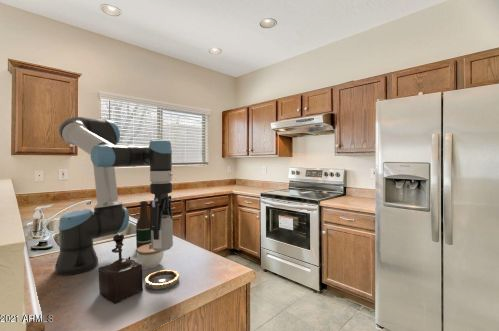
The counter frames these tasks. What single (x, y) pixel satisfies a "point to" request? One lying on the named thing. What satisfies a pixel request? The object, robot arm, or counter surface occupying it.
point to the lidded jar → (149, 256)
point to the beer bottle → (143, 226)
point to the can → (165, 233)
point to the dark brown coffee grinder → (120, 276)
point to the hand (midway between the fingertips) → (162, 244)
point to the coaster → (162, 280)
